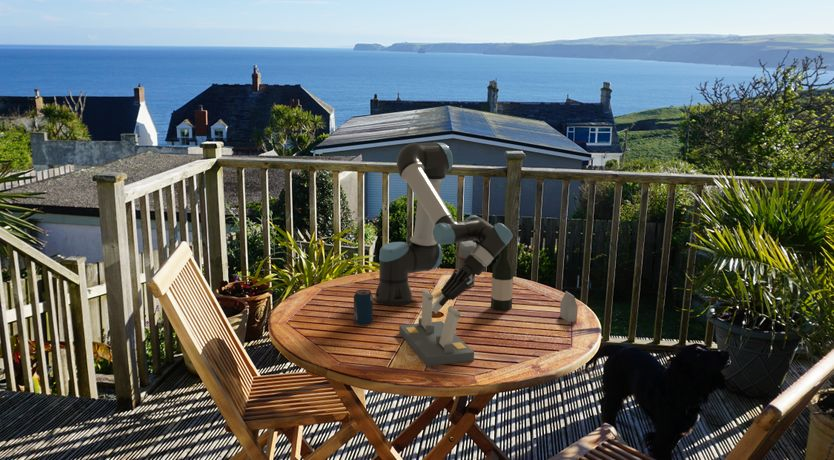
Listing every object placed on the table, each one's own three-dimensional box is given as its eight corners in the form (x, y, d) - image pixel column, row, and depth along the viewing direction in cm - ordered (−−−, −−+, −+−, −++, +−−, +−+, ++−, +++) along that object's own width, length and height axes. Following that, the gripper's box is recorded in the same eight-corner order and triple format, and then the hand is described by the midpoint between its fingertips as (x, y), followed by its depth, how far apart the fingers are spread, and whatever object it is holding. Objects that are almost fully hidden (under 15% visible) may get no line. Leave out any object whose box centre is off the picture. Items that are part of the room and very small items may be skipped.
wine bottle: (511, 304, 276) (514, 232, 269) (512, 311, 267) (515, 237, 261) (490, 303, 276) (493, 231, 270) (490, 310, 268) (494, 236, 262)
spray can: (477, 283, 303) (479, 240, 299) (472, 288, 296) (474, 244, 291) (459, 281, 306) (460, 238, 302) (454, 286, 298) (455, 242, 294)
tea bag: (567, 322, 257) (569, 296, 254) (559, 316, 263) (561, 291, 261) (576, 321, 257) (578, 296, 255) (568, 315, 264) (570, 290, 262)
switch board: (441, 328, 247) (441, 314, 246) (473, 360, 219) (474, 344, 218) (399, 333, 242) (399, 318, 241) (427, 366, 214) (427, 349, 213)
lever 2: (443, 343, 225) (454, 306, 223) (450, 350, 219) (461, 312, 218) (438, 342, 224) (448, 305, 222) (444, 349, 218) (455, 311, 217)
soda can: (375, 321, 254) (376, 290, 251) (366, 327, 248) (366, 295, 245) (359, 318, 257) (359, 288, 254) (350, 324, 250) (350, 293, 248)
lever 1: (426, 324, 241) (427, 289, 239) (431, 330, 236) (433, 294, 233) (420, 324, 241) (422, 289, 238) (426, 330, 235) (427, 294, 232)
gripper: (492, 272, 234) (446, 323, 233) (476, 263, 247) (433, 311, 245) (478, 258, 232) (432, 310, 230) (463, 249, 244) (419, 298, 242)
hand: (432, 310), depth 237 cm, fingers closed
